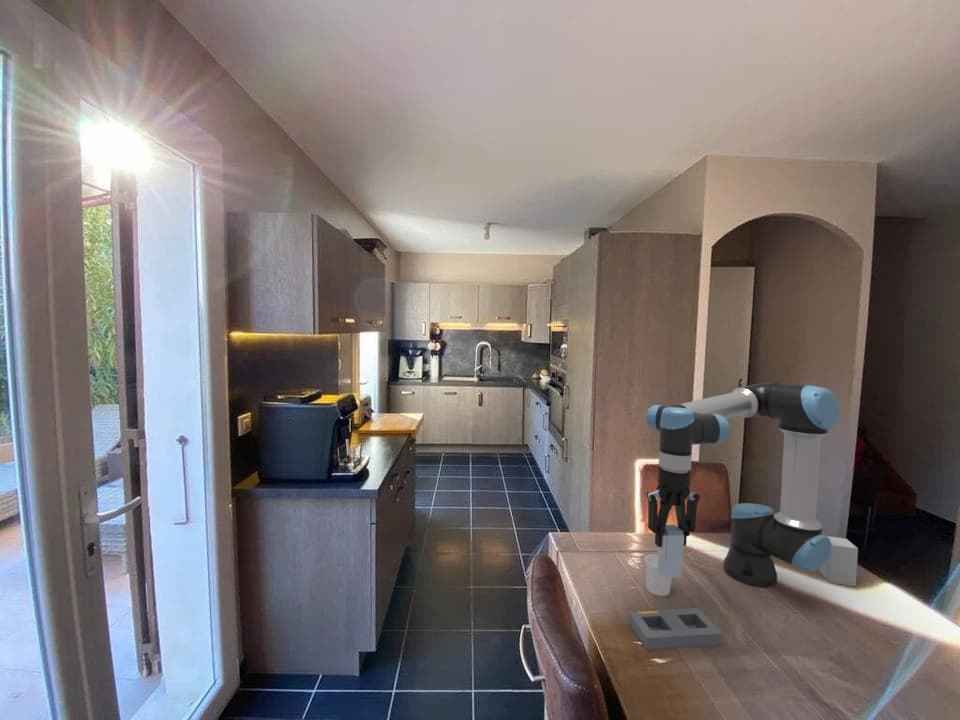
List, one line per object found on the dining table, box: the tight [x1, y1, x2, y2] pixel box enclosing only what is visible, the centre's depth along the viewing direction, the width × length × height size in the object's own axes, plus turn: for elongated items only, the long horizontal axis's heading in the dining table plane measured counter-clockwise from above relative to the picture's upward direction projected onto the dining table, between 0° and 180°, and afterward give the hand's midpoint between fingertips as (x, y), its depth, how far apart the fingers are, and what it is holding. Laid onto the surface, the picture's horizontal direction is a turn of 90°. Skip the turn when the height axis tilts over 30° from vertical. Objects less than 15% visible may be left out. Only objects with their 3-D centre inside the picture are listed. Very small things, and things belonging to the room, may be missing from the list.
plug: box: [658, 524, 684, 579], centre depth 109 cm, size 4×4×12 cm
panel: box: [628, 607, 724, 651], centre depth 111 cm, size 20×10×4 cm, turn 96°
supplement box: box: [818, 535, 859, 587], centre depth 139 cm, size 7×7×13 cm
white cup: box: [644, 553, 673, 597], centre depth 130 cm, size 8×8×10 cm
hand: (669, 557), depth 109 cm, fingers closed on plug, 4 cm apart
